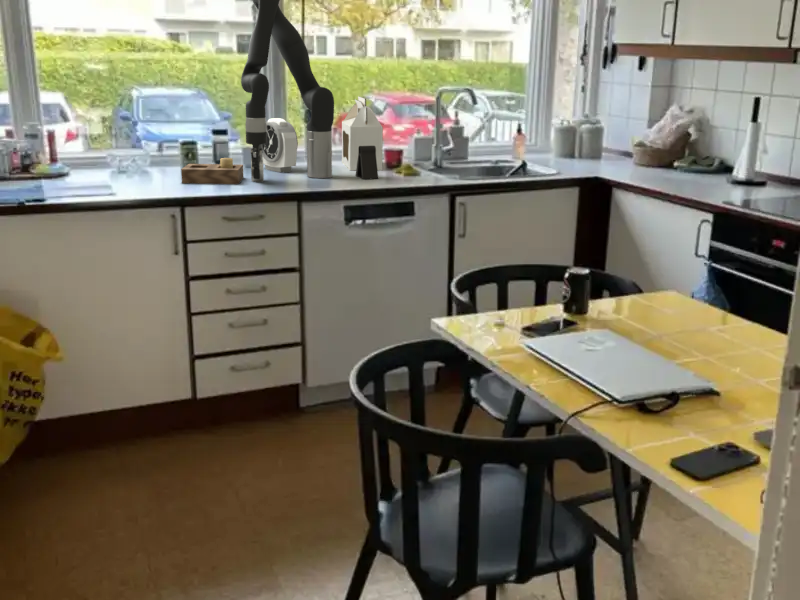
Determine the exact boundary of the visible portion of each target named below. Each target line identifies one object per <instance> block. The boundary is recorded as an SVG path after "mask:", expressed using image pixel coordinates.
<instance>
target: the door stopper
mask: <svg viewBox="0 0 800 600" xmlns="http://www.w3.org/2000/svg"><path fill="white" fill-rule="evenodd" d="M378 171H379V170H377V161H376V147H375V146H359V148H358V161H357V168H356V171H355V177H356V178H359V179H361V180H365V181H366V180H379V172H378Z"/></svg>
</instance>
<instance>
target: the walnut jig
mask: <svg viewBox="0 0 800 600" xmlns="http://www.w3.org/2000/svg"><path fill="white" fill-rule="evenodd" d="M219 161H220V162H219V164H218V163H188V164H186V165H185V166H184V167H182V168H181V169H180V170H181V171H180V174H181V184H200V185H201V184H204V185H205V184H208V185H209V184H211V185H213V184H214V185H215V184H216V185H217V184H219V185H220V184H221V185H239V184H240V183H241V182H242V181H243V179H244V177H245V176H244V164H240V163H239V164H234V160H233V158H232V157H223V158H220V159H219Z"/></svg>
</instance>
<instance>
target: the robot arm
mask: <svg viewBox="0 0 800 600" xmlns="http://www.w3.org/2000/svg"><path fill="white" fill-rule="evenodd" d="M251 2H252V3H253V4H254V6H255V7H256V9H257V10H258V11H257V12H258V13H257V17H256V22H255V25H254V26H253V30H252V32H251V36H250V37H249V38H250V39H249V44H248V52H247V60H246V63H245V65H244V68H243V69H242V70H243V71H242V73H241V77H240V83H241V87H242V90H243V91H245V92H246V93H248V94H251V98H250V100H247V102H246V103H245V143H246V144H248V145H252V148H251V149H250V156H251V159H250V162H251V161H252V168H253V176H254V179H259V178H260V162H261V159H263V156H262V153H263V149H262V148H261V144H266V143H267V123H266V122H267V116H266V113H267V112H266V110H267V109H266V105H267V102H268V97H269V93H270V92H269V91H270V82H269V79H268V77H267V76H266V75H265V74H264V73H261V70H262V68H264V67H266V66H267V64H268V61H269V54H270V53H269V52H270V46H271V37H272V38H273V40H274V42H275V44H276V47H277V49H278V51H279V53H280V55H281V57H282V58H283V60H284V62H285V64H286V66H287V68H288V70H289V71H290V73H291V76H292V77H293V78H294V80H295V81H294V82H295V83H296V84H297V88H298V90H299V91H298V92H299V93H300V96H301V98H302V101H303V103H304V105H305V106H306V108H307V109H308V110H310V120H309V121H308V122H307V123H306V152H307V153H306V155H307V156H306V157H307V158H306V159H307V160H306V163H307V165H306V166H307V169H306V171H307V174H306V175H307V177H308V178H314V179H315V178H316V179H325V178H332V177H333V150H332V149H333V145H332V144H333V143H332V141H333V139H332V131H333V129H332V128H333V124H334V118H335V117H334V115H335V98H334V95H333V93H332V92H333V91H331V90H330V89H329V88H328V87H325V86H324V87H323V86H321V85H320V84H319V82H318V81H317V79H316V77H315V76H314V74H313V71H312V67H311V62H310V61H311V60H310V55H309V52H308V49H307V46H306V44H305V42H304V40H303V38H302V36H301V34H300V33H299V30H298V29H296V27H295V26H294V25H293V24H292V23H291V22H290V20H289V19H288V18H287V17H286V16H285V15H284V13H283V12H282V9H281V8H280V4H279V3H280V0H251ZM254 162H257V164H254Z"/></svg>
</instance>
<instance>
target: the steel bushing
mask: <svg viewBox="0 0 800 600" xmlns="http://www.w3.org/2000/svg"><path fill="white" fill-rule="evenodd" d="M254 164H257V162H254ZM250 169H251V170H250V172H251V173H250V174H251V175H250V176H251V177H250V178H251V182H252V183H264V181H265V178H264V176H265V173H264V164H263V159H261V162H260V178H259V179H254V176H253V168H252V161H251V160H250Z"/></svg>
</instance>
